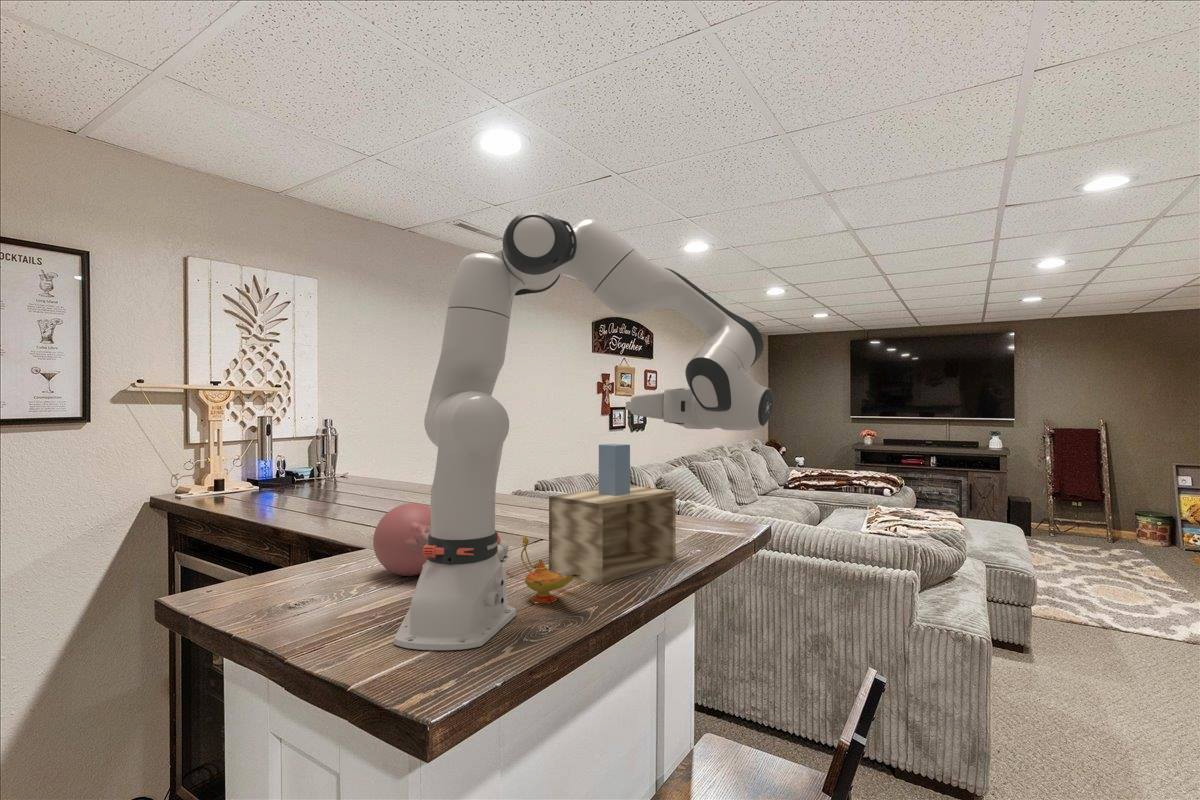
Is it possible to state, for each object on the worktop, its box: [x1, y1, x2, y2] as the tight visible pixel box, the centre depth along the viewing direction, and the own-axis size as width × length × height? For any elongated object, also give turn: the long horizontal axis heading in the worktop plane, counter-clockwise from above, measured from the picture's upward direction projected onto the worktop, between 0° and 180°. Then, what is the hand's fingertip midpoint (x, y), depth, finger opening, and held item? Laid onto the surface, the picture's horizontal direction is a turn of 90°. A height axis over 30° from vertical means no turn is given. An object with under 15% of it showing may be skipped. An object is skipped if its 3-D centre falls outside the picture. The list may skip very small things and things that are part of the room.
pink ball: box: [372, 502, 431, 577], centre depth 126 cm, size 15×20×15 cm
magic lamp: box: [520, 535, 581, 604], centre depth 110 cm, size 7×18×11 cm, turn 42°
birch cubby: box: [548, 485, 677, 585], centre depth 132 cm, size 15×26×17 cm, turn 137°
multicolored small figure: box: [495, 529, 509, 562], centre depth 141 cm, size 8×10×7 cm
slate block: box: [598, 443, 631, 496], centre depth 132 cm, size 5×5×11 cm
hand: (641, 406), depth 128 cm, fingers open, 8 cm apart
